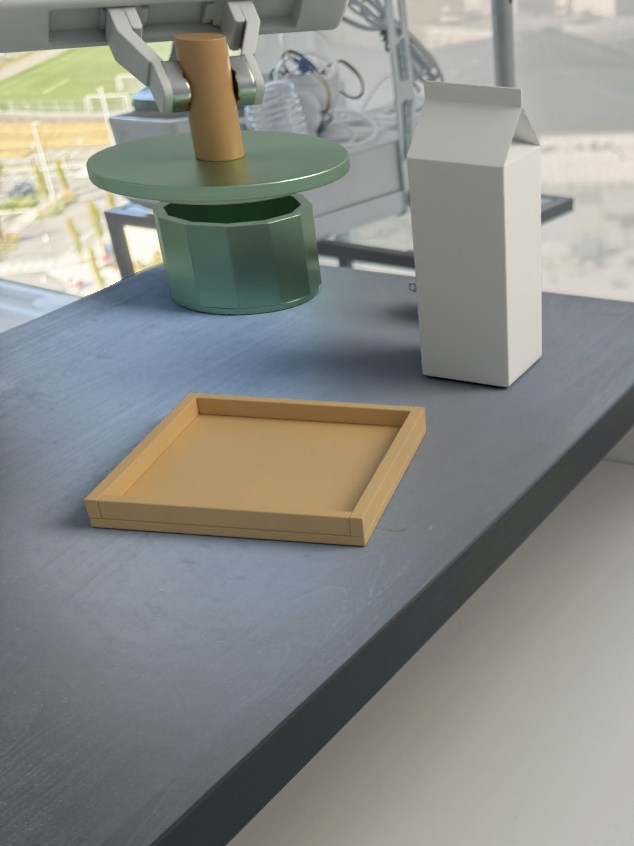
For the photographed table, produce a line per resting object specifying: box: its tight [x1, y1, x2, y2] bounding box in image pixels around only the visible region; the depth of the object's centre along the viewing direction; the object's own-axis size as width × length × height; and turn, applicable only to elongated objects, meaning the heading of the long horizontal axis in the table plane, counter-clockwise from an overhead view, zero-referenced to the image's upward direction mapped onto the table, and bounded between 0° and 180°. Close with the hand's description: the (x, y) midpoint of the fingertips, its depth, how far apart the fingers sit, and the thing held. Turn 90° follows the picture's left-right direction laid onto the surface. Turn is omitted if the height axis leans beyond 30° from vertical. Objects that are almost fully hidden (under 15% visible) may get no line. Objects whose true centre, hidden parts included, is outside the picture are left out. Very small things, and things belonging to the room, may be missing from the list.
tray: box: [83, 392, 427, 547], centre depth 74 cm, size 17×17×2 cm
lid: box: [85, 33, 351, 205], centre depth 62 cm, size 14×14×7 cm
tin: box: [151, 192, 322, 316], centre depth 101 cm, size 13×13×7 cm
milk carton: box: [406, 79, 543, 388], centre depth 84 cm, size 7×7×19 cm
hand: (215, 101), depth 61 cm, fingers closed on lid, 2 cm apart
